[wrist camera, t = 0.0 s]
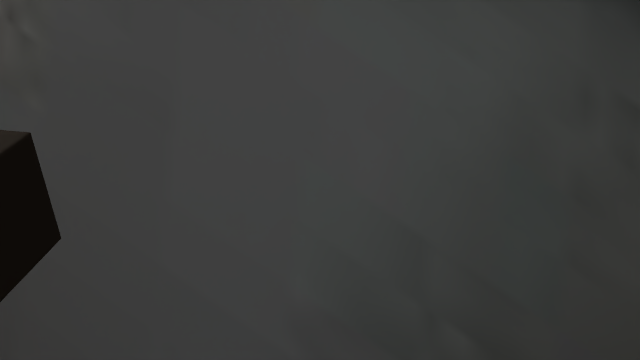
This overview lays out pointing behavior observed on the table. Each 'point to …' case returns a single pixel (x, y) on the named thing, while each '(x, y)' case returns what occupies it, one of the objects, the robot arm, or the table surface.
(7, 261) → the robot arm
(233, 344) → the table surface
